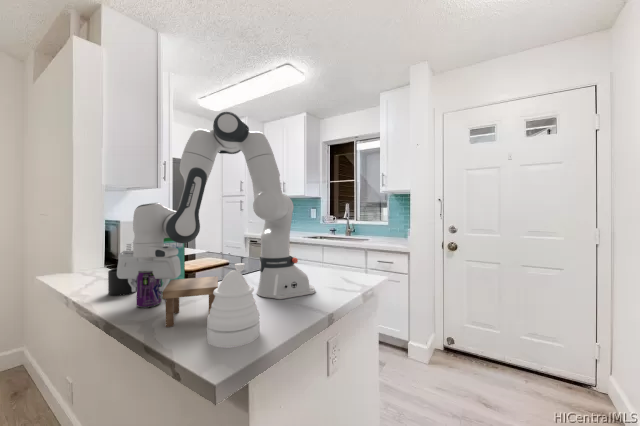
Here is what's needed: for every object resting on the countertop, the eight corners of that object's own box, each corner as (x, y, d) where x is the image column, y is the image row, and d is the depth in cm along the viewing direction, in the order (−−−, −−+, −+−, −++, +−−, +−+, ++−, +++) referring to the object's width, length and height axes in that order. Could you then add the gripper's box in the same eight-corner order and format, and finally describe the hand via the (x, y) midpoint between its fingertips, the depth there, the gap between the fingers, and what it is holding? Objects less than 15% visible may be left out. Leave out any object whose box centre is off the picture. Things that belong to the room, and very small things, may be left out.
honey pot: (237, 321, 81) (237, 259, 81) (270, 332, 74) (269, 264, 74) (196, 338, 70) (195, 266, 70) (229, 353, 63) (228, 272, 63)
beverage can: (149, 309, 91) (149, 272, 91) (131, 308, 93) (131, 271, 93) (165, 302, 98) (165, 268, 98) (148, 301, 100) (148, 267, 100)
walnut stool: (218, 306, 94) (217, 276, 94) (217, 321, 81) (217, 286, 81) (171, 311, 90) (171, 279, 90) (162, 328, 76) (162, 291, 76)
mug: (128, 297, 104) (128, 272, 104) (102, 295, 107) (101, 271, 107) (148, 290, 114) (148, 267, 114) (123, 288, 116) (123, 266, 116)
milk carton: (153, 289, 115) (152, 228, 115) (176, 284, 122) (176, 227, 121) (160, 293, 109) (160, 229, 109) (185, 288, 116) (184, 227, 115)
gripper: (111, 252, 93) (112, 294, 93) (172, 252, 92) (173, 294, 92) (125, 249, 99) (125, 288, 99) (182, 249, 98) (183, 289, 98)
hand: (149, 291), depth 95 cm, fingers open, 8 cm apart
